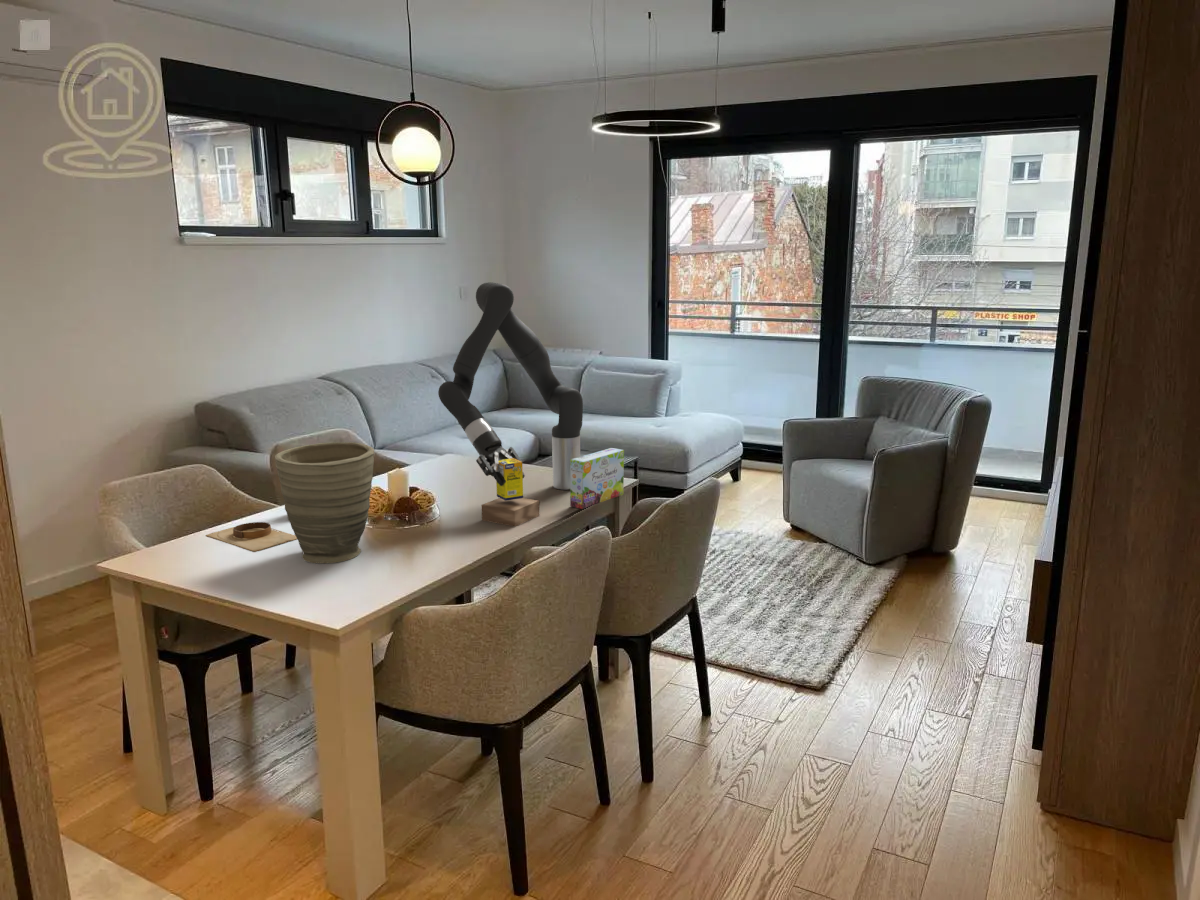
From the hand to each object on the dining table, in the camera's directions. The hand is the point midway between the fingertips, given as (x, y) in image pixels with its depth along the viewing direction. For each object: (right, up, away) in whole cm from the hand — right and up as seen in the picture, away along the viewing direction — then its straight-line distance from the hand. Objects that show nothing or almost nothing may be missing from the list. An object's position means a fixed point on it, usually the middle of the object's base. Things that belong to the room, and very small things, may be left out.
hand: (513, 481), depth 255 cm
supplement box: (-1, -5, +2) cm, 5 cm away
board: (-71, -16, -11) cm, 74 cm away
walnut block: (-1, -11, +3) cm, 12 cm away
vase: (-44, -18, -26) cm, 54 cm away
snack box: (+25, -7, +21) cm, 33 cm away
